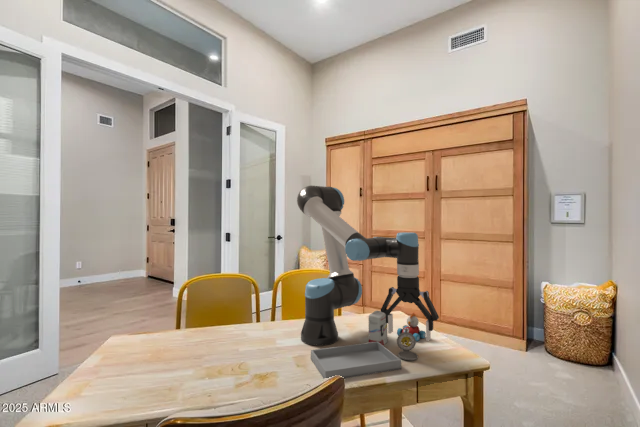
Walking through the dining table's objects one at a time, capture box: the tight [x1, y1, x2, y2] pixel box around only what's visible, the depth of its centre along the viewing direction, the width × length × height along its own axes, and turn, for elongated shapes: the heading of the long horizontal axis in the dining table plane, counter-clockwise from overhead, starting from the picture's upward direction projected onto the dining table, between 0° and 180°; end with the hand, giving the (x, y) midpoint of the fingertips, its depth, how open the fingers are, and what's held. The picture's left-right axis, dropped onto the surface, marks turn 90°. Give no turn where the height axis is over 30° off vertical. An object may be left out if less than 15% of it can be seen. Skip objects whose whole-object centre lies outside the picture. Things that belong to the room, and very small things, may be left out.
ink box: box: [368, 310, 388, 346], centre depth 125 cm, size 9×5×12 cm, turn 148°
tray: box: [310, 341, 402, 379], centre depth 108 cm, size 26×16×3 cm, turn 108°
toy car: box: [396, 312, 426, 342], centre depth 133 cm, size 9×9×10 cm
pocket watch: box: [396, 324, 419, 361], centre depth 114 cm, size 8×8×10 cm
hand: (408, 336), depth 114 cm, fingers open, 13 cm apart
